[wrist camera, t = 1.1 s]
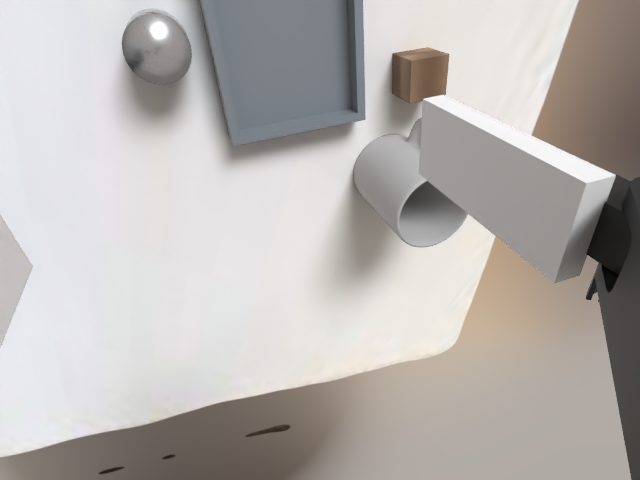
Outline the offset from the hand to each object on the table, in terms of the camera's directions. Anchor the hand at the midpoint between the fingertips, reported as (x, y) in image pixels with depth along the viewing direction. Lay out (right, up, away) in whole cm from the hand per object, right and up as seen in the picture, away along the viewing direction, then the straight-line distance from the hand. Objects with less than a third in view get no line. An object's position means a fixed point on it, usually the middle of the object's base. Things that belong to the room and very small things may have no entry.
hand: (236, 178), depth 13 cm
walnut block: (+12, +16, +31) cm, 37 cm away
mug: (+11, +8, +36) cm, 38 cm away
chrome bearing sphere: (-11, +15, +22) cm, 29 cm away
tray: (-1, +17, +25) cm, 30 cm away
